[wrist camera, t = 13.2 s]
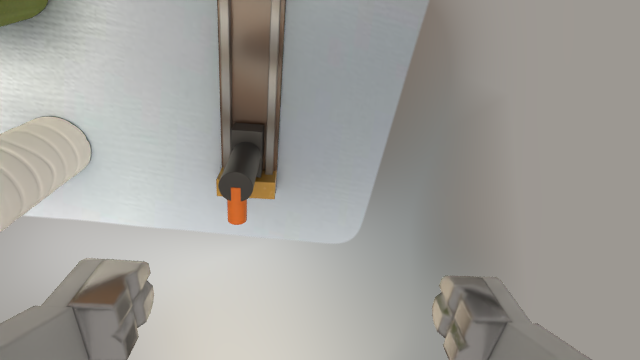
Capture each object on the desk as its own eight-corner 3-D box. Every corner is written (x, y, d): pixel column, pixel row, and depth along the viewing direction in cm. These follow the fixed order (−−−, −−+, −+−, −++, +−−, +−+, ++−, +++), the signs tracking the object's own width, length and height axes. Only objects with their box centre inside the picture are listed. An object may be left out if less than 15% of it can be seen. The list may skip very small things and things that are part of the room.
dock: (221, 167, 37) (216, 179, 35) (276, 170, 38) (275, 182, 35) (222, 183, 38) (216, 196, 35) (275, 186, 39) (274, 199, 36)
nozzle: (234, 122, 35) (215, 158, 26) (264, 124, 35) (254, 161, 27) (235, 175, 37) (217, 224, 29) (262, 177, 38) (253, 225, 29)
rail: (214, -174, 26) (207, -191, 23) (294, -160, 26) (293, -177, 24) (224, 186, 39) (219, 197, 37) (275, 189, 40) (274, 201, 38)
